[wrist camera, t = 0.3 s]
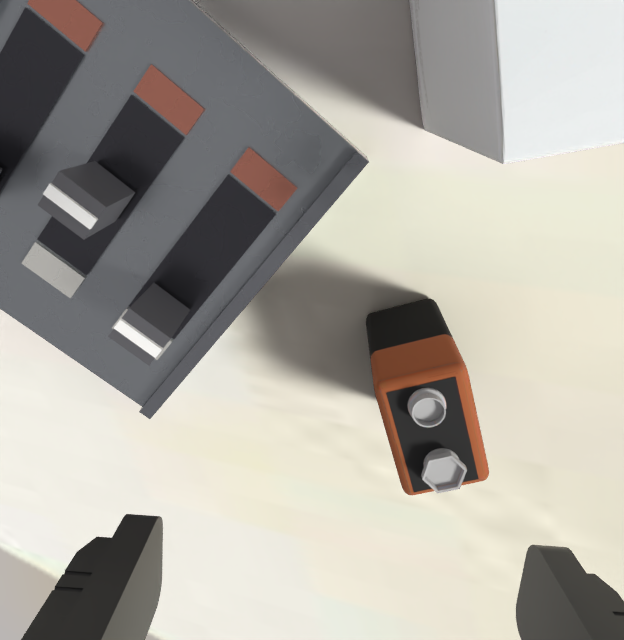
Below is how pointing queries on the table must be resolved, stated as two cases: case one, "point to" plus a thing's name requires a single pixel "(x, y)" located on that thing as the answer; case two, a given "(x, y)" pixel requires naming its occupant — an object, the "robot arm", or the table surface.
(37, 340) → the table surface
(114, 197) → the breaker
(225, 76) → the panel
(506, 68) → the supplement box
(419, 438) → the battery
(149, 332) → the breaker
